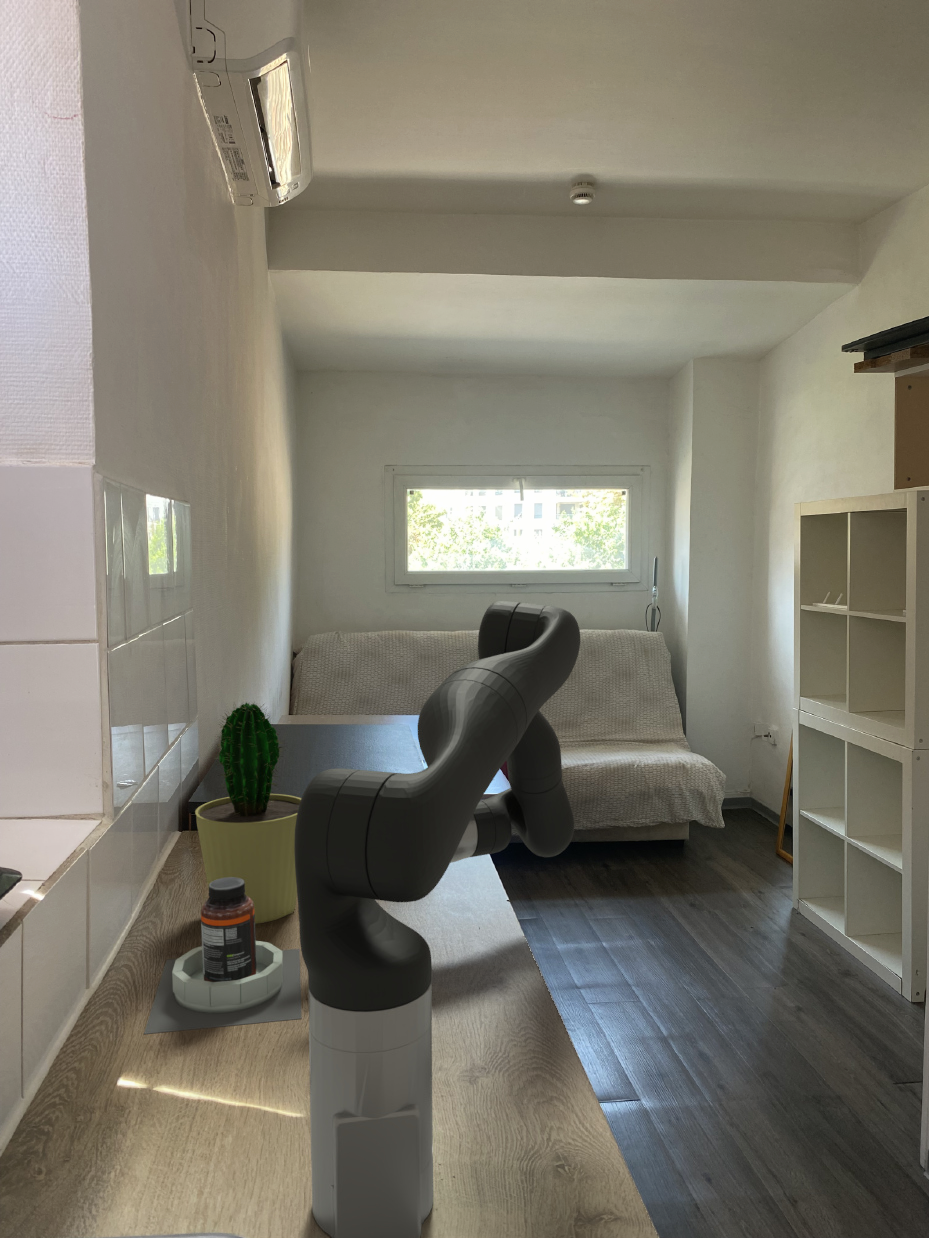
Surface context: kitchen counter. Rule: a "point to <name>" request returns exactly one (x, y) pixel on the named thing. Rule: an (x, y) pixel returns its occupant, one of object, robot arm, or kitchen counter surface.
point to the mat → (178, 1018)
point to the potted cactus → (251, 817)
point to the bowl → (227, 982)
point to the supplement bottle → (228, 932)
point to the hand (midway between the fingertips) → (313, 853)
